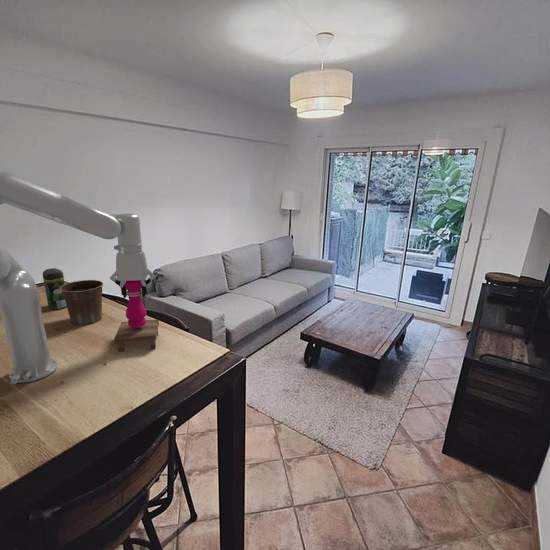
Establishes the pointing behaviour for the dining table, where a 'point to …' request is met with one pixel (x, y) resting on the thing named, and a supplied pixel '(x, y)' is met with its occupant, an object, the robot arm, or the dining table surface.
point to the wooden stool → (137, 334)
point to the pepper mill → (135, 304)
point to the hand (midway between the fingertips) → (134, 295)
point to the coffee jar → (54, 288)
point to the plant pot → (83, 301)
